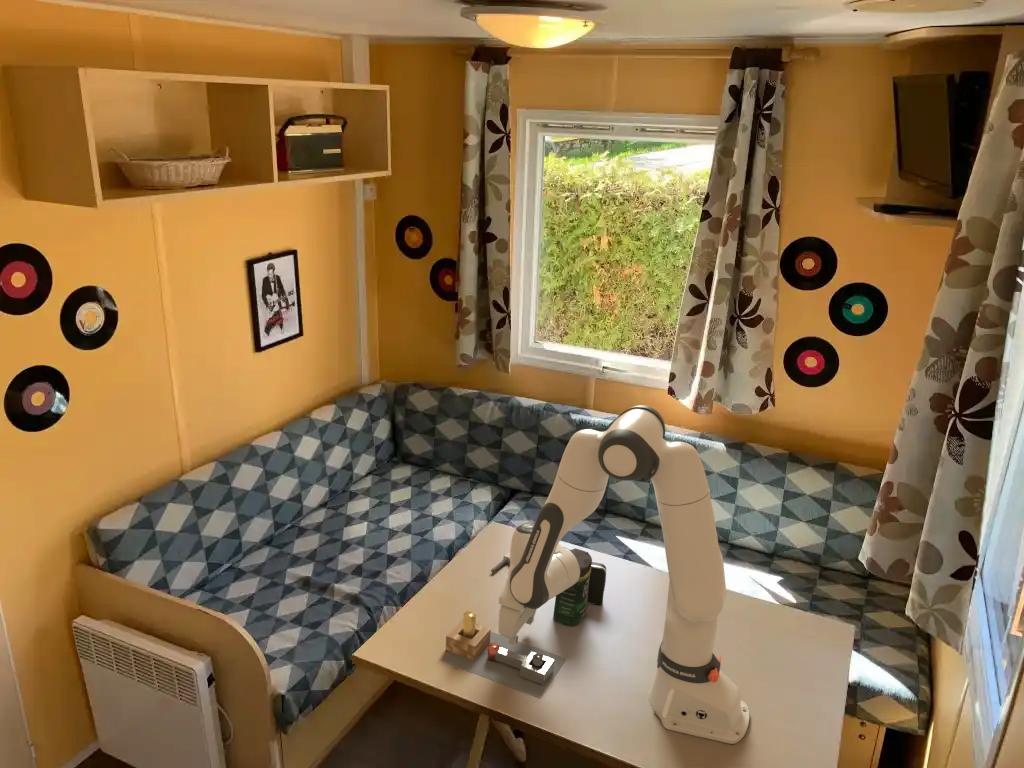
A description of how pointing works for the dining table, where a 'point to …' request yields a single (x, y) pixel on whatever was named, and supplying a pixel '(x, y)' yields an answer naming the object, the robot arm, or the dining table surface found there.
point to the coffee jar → (575, 594)
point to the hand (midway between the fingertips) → (521, 632)
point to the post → (537, 660)
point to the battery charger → (597, 583)
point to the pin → (469, 624)
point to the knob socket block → (522, 663)
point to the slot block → (468, 641)
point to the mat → (506, 666)
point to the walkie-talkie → (502, 562)
